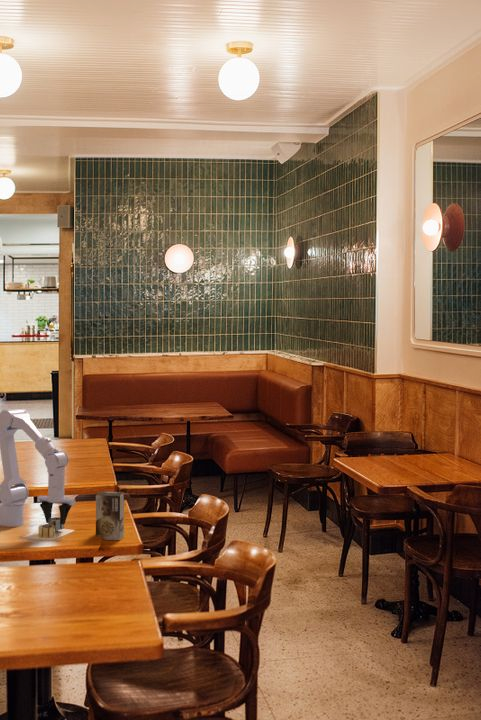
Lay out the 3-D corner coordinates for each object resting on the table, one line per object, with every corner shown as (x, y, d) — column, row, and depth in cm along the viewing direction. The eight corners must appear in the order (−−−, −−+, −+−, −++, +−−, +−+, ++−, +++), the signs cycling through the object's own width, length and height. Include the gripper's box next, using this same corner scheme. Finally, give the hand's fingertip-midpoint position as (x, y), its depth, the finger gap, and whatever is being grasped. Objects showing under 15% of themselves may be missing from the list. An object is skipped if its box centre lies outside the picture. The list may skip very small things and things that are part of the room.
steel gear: (45, 529, 293) (45, 520, 293) (53, 525, 298) (53, 516, 298) (58, 530, 291) (58, 521, 291) (66, 527, 296) (66, 517, 296)
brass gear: (37, 537, 286) (37, 528, 286) (40, 533, 292) (40, 524, 292) (53, 537, 286) (53, 528, 286) (56, 533, 292) (56, 524, 292)
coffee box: (124, 536, 296) (125, 491, 295) (119, 540, 290) (120, 495, 289) (99, 534, 297) (100, 490, 296) (94, 539, 290) (95, 494, 290)
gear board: (21, 540, 287) (21, 525, 286) (46, 530, 302) (46, 516, 302) (51, 544, 283) (51, 529, 283) (75, 533, 298) (75, 519, 298)
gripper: (79, 485, 295) (79, 522, 296) (45, 482, 300) (44, 518, 301) (69, 489, 289) (68, 527, 289) (34, 485, 293) (33, 523, 294)
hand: (55, 523), depth 294 cm, fingers closed on steel gear, 5 cm apart
